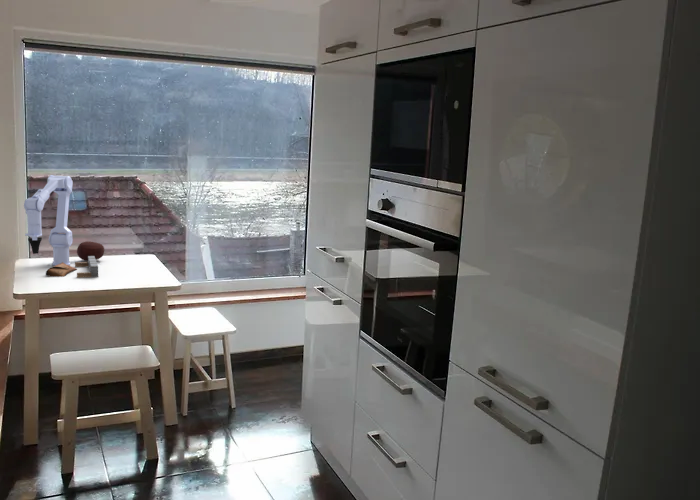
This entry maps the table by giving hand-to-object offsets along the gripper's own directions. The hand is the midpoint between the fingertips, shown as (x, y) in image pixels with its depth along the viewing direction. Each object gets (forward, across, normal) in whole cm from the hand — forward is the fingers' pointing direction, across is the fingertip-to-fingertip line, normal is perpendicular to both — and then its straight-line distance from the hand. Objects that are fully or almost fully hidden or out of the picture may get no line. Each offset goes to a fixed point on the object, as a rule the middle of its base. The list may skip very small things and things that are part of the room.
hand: (35, 253), depth 292 cm
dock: (+9, 0, +22) cm, 23 cm away
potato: (+10, -26, +25) cm, 37 cm away
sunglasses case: (+10, 0, +11) cm, 15 cm away
